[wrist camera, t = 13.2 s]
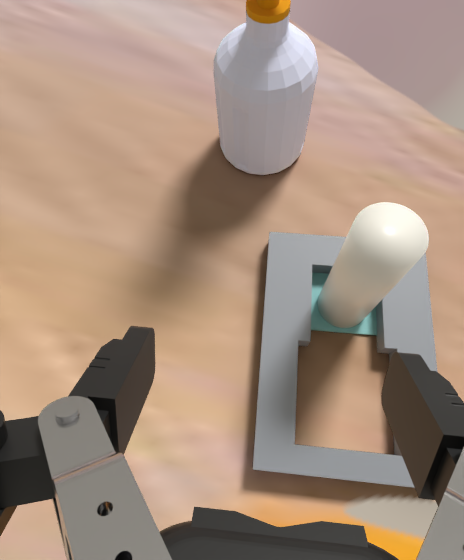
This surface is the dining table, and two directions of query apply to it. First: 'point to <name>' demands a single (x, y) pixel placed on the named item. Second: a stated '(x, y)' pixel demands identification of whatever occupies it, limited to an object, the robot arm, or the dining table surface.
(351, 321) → the cream rounded cylinder
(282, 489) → the dining table surface
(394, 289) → the rectangular recess board
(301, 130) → the soap bottle
